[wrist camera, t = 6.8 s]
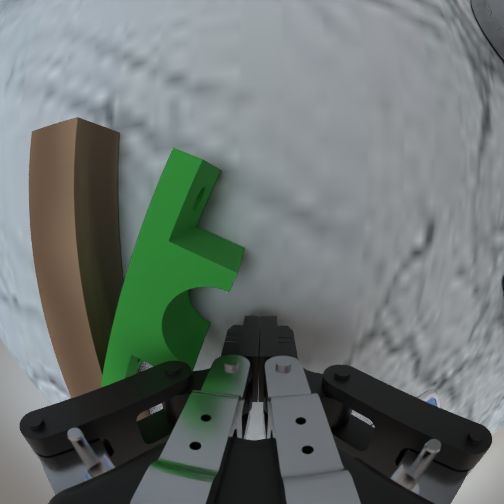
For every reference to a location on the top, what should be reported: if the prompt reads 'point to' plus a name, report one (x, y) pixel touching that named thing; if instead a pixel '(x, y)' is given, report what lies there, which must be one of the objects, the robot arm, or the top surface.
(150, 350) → the pipe clamp
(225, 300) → the top surface
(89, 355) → the block
